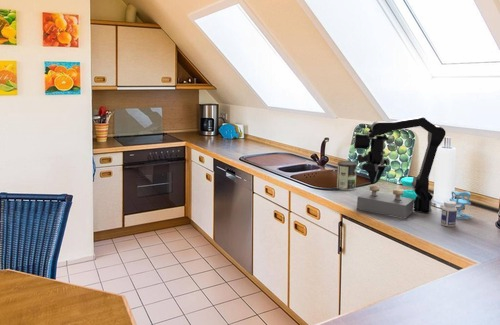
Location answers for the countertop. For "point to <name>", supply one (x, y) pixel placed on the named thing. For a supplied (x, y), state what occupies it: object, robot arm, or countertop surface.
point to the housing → (385, 204)
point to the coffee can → (346, 175)
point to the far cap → (374, 189)
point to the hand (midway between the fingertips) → (374, 182)
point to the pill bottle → (449, 214)
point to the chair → (461, 202)
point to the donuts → (408, 193)
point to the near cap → (397, 194)
